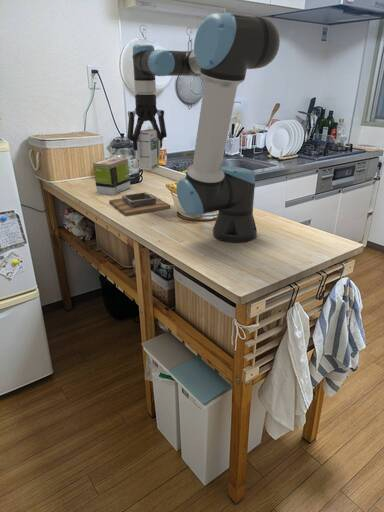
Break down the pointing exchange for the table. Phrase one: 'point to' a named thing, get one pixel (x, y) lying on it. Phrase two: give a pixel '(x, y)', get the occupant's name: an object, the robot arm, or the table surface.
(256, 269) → the table surface
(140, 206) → the wooden tray on board
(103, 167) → the tea box
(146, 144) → the syrup box
